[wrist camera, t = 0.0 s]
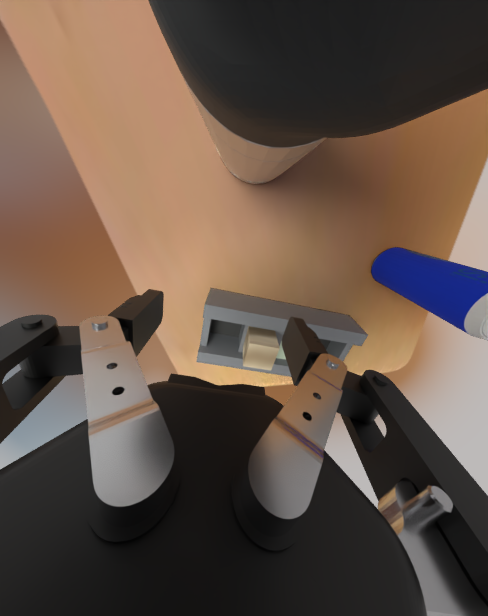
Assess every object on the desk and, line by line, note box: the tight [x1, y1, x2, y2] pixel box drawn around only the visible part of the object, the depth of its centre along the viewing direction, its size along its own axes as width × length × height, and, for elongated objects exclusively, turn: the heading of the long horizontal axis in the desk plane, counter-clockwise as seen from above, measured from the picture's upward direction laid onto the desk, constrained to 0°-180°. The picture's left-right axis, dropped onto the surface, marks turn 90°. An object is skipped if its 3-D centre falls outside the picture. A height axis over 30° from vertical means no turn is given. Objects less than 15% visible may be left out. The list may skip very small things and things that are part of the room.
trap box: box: [197, 288, 368, 377], centre depth 31 cm, size 10×23×6 cm, turn 78°
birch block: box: [243, 326, 280, 371], centre depth 28 cm, size 4×4×4 cm
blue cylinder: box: [371, 247, 488, 340], centre depth 22 cm, size 5×5×15 cm
